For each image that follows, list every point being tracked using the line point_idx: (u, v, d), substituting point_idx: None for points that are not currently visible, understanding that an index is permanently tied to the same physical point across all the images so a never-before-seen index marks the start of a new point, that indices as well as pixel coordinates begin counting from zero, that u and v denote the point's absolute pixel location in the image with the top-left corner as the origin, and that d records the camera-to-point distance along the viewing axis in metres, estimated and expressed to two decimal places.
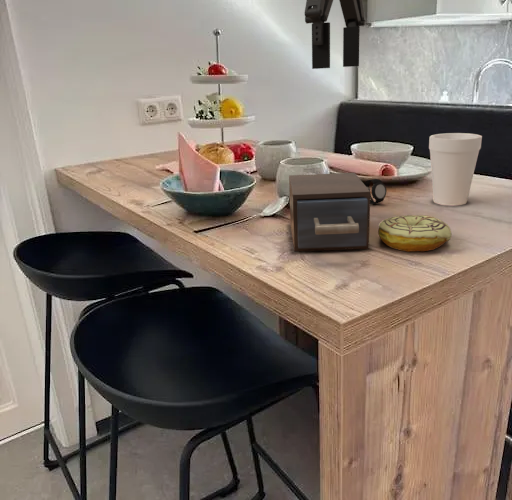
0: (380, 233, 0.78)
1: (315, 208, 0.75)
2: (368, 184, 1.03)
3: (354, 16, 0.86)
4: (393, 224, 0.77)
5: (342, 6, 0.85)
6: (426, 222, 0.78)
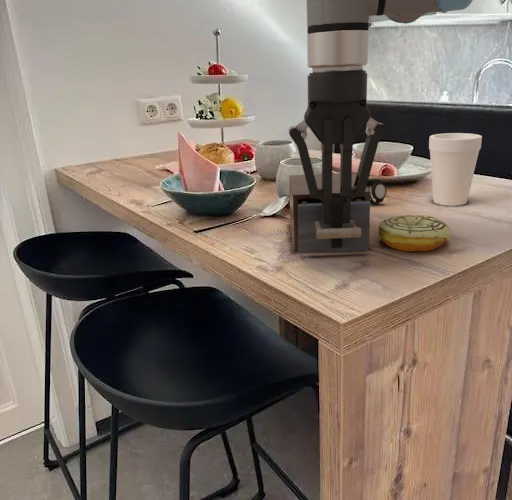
0: (380, 233, 0.78)
1: (316, 211, 0.73)
2: (368, 184, 1.03)
3: (342, 184, 0.68)
4: (393, 224, 0.77)
5: (340, 166, 0.69)
6: (426, 222, 0.78)
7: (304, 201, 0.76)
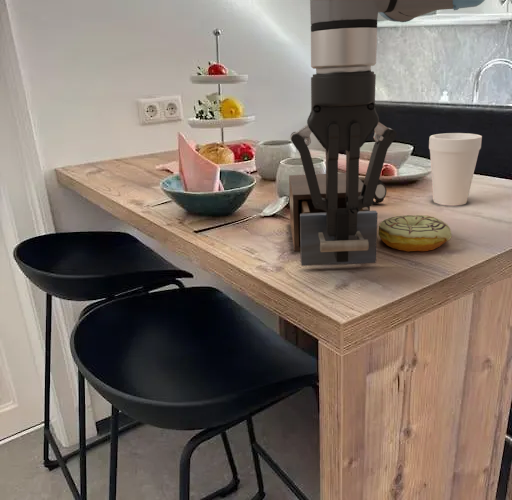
0: (380, 233, 0.78)
1: (319, 222, 0.68)
2: None
3: (348, 194, 0.63)
4: (393, 224, 0.77)
5: (346, 175, 0.64)
6: (426, 222, 0.78)
7: (307, 210, 0.71)
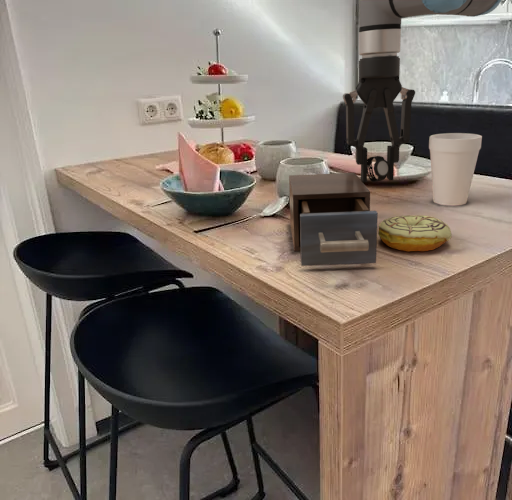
0: (380, 233, 0.78)
1: (319, 222, 0.68)
2: (370, 162, 1.02)
3: (391, 135, 0.97)
4: (393, 224, 0.77)
5: (387, 124, 0.98)
6: (426, 222, 0.78)
7: (307, 210, 0.71)
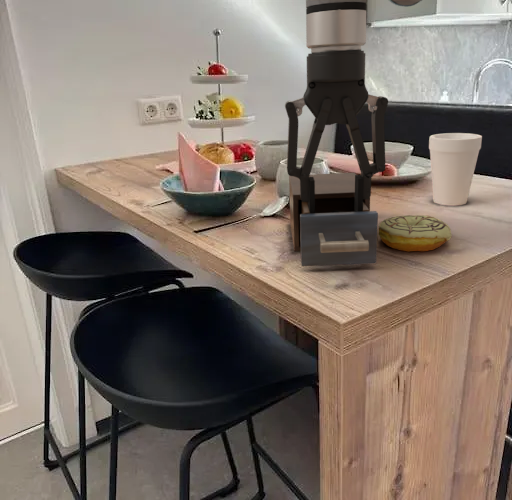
0: (380, 233, 0.78)
1: (320, 222, 0.68)
2: None
3: (359, 162, 0.68)
4: (393, 224, 0.77)
5: (353, 146, 0.69)
6: (426, 222, 0.78)
7: (307, 211, 0.70)
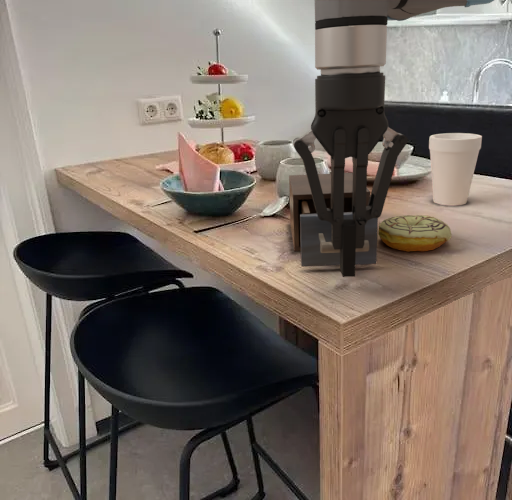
0: (380, 233, 0.78)
1: (320, 222, 0.68)
2: None
3: (355, 204, 0.58)
4: (393, 224, 0.77)
5: (353, 183, 0.59)
6: (426, 222, 0.78)
7: (307, 211, 0.70)
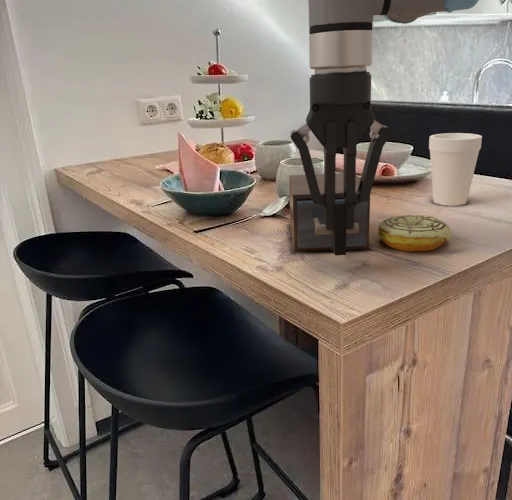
0: (380, 233, 0.78)
1: (315, 208, 0.75)
2: None
3: (345, 189, 0.65)
4: (393, 224, 0.77)
5: None
6: (426, 222, 0.78)
7: None
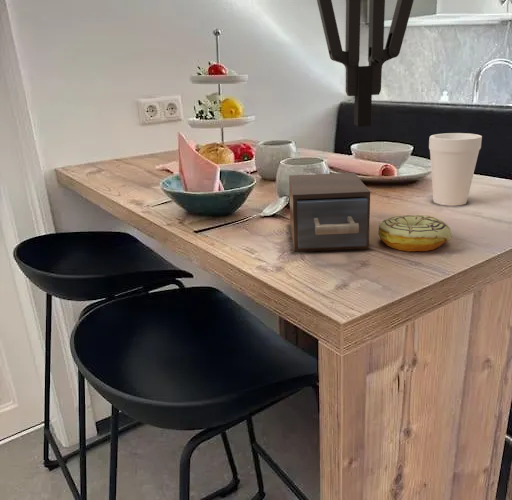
0: (380, 233, 0.78)
1: (315, 208, 0.75)
2: None
3: (371, 43, 0.55)
4: (393, 224, 0.77)
5: (369, 23, 0.56)
6: (426, 222, 0.78)
7: None
